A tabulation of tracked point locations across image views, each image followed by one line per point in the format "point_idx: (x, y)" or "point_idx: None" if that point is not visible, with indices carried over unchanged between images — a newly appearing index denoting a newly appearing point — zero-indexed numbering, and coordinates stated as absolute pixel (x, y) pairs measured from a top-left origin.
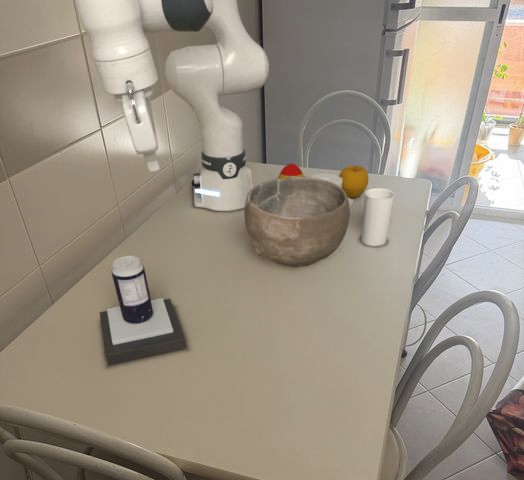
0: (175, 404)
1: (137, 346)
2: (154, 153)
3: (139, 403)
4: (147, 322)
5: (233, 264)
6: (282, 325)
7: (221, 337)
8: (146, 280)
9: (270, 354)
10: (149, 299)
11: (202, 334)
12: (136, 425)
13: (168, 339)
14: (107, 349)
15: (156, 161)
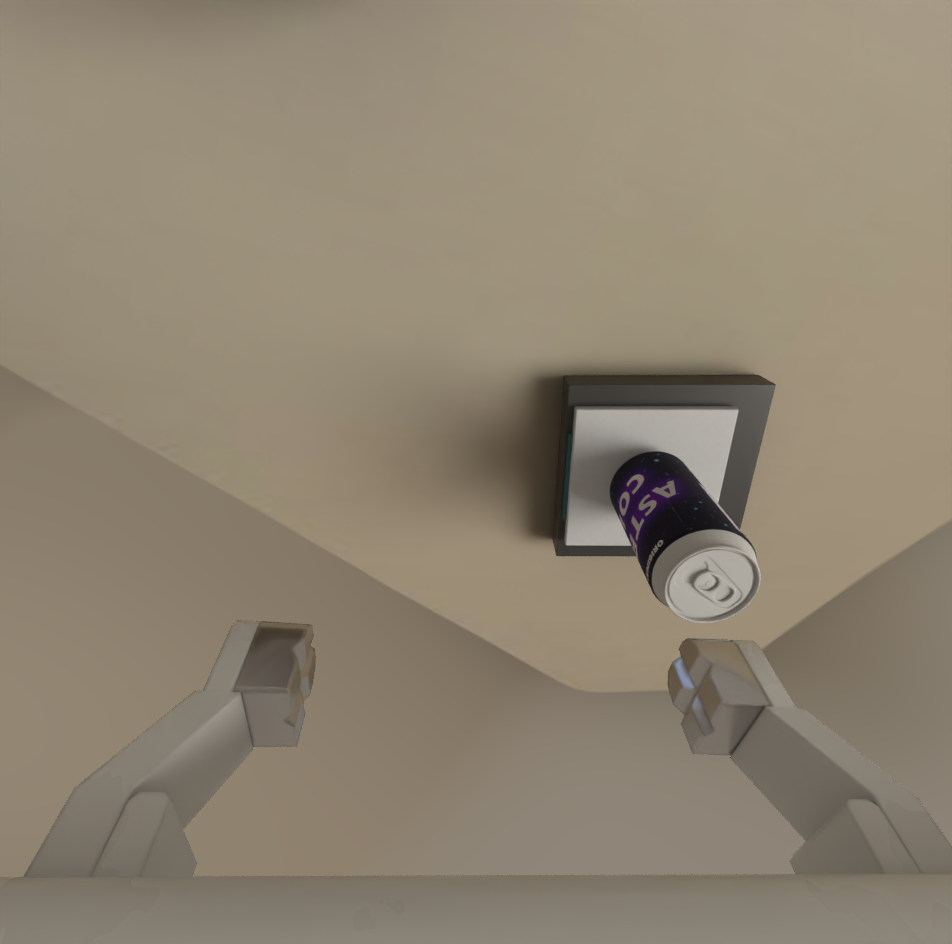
0: (924, 433)
1: (739, 493)
2: (889, 788)
3: (871, 498)
4: None
5: (366, 93)
6: (825, 34)
7: (766, 268)
8: (707, 504)
9: (926, 141)
10: (691, 477)
11: (724, 318)
12: (925, 510)
13: (755, 422)
14: None
15: (785, 700)
